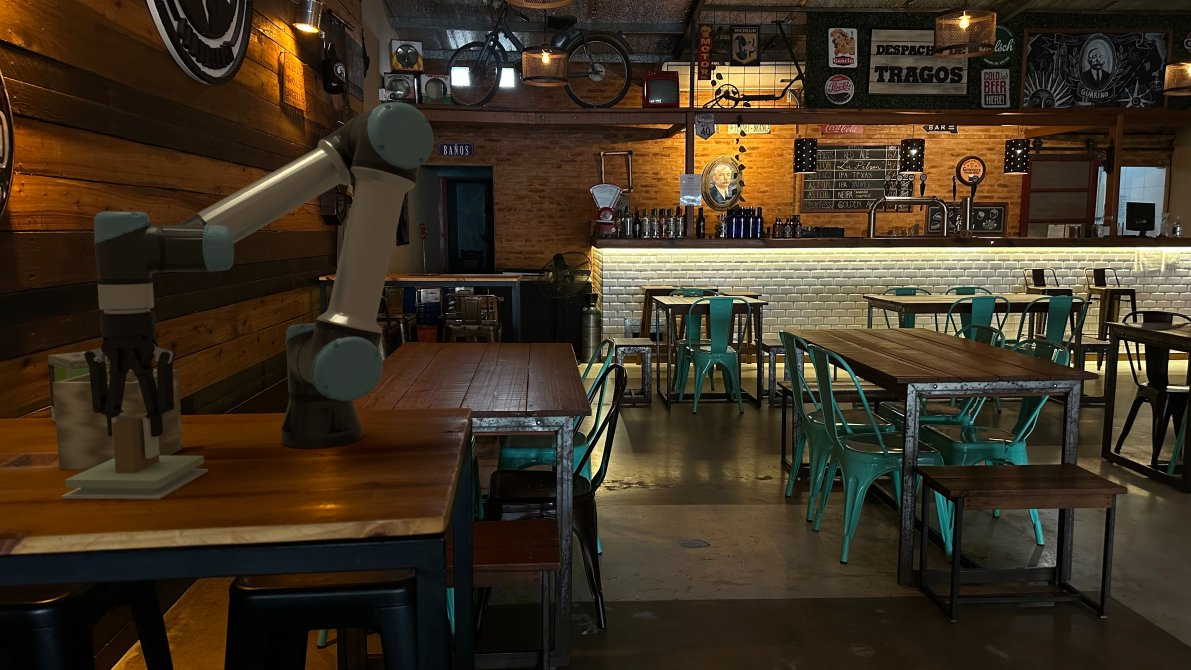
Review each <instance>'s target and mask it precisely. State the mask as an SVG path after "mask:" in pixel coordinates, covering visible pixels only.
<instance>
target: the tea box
mask: <svg viewBox="0 0 1191 670" xmlns="http://www.w3.org/2000/svg"><path fill="white" fill-rule="evenodd" d="M85 352H86V351H79V352H76V351H75V352H67V353H66V352H65V353H57V354H49V355H47V359H48V375H49V389H50V390H49V393H50V394H49V395H50V405H51V407H50V408H51V409H50V410H51V419H52V421H53V422H55V423H56V419H55V406H54V394H53V382H57V381H61V380H65V379H69V378H73V377H77V376H80V375H84V374H88V373H90V372H89V365H88V363H87V361H86V359H85V357H84V354H85ZM105 363H106V369H109V368H110V361H109V360H108V358H107V357H106V359H105Z"/></svg>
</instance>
